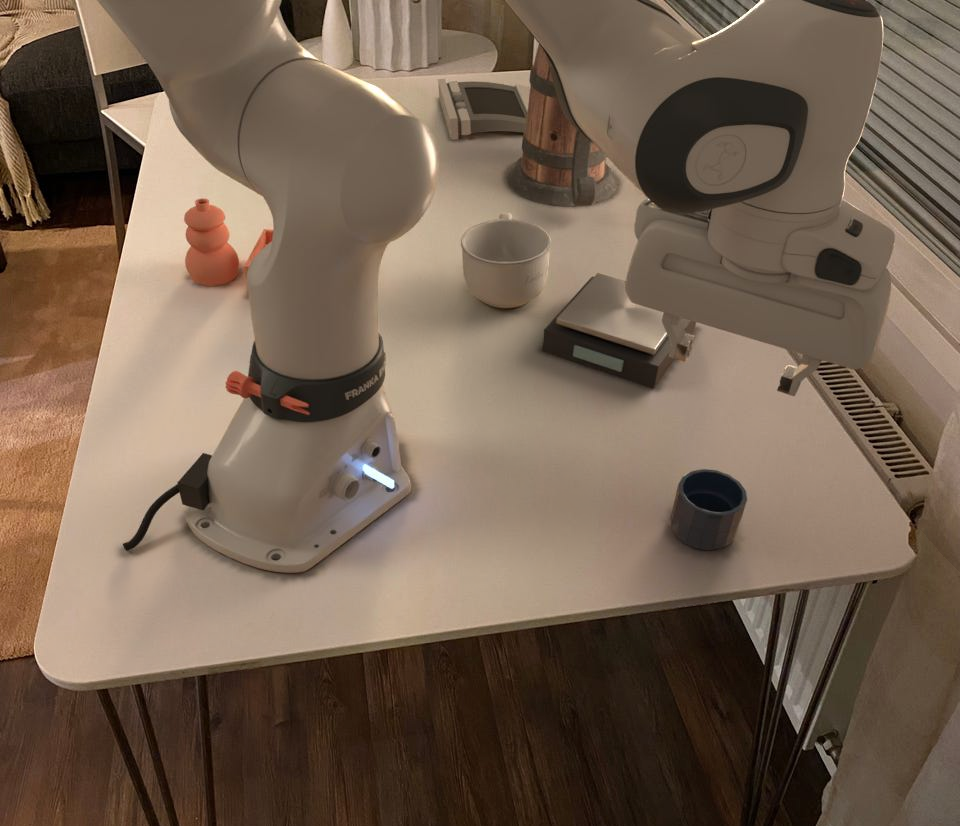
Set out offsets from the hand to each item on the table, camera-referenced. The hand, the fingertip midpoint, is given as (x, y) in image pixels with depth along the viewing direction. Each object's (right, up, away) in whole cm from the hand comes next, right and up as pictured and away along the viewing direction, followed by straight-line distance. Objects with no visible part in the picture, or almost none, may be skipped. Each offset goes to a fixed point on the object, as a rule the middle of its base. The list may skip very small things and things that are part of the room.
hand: (732, 372), depth 81 cm
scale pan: (-4, +11, +32) cm, 34 cm away
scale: (-5, +8, +34) cm, 35 cm away
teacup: (-18, +16, +42) cm, 48 cm away
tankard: (-8, +35, +63) cm, 73 cm away
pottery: (-49, +17, +42) cm, 67 cm away
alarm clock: (-19, +53, +82) cm, 100 cm away
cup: (0, -14, +11) cm, 17 cm away
